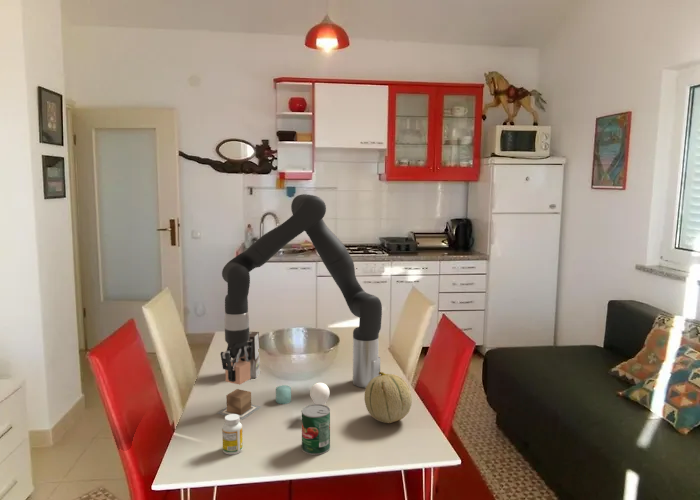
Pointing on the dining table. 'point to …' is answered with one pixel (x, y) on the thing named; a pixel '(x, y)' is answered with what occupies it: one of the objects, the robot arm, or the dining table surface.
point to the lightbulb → (319, 393)
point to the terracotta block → (240, 372)
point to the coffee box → (254, 355)
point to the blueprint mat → (244, 415)
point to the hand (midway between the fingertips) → (238, 377)
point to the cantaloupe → (388, 398)
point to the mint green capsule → (283, 394)
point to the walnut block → (238, 401)
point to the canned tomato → (315, 429)
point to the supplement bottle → (232, 434)
